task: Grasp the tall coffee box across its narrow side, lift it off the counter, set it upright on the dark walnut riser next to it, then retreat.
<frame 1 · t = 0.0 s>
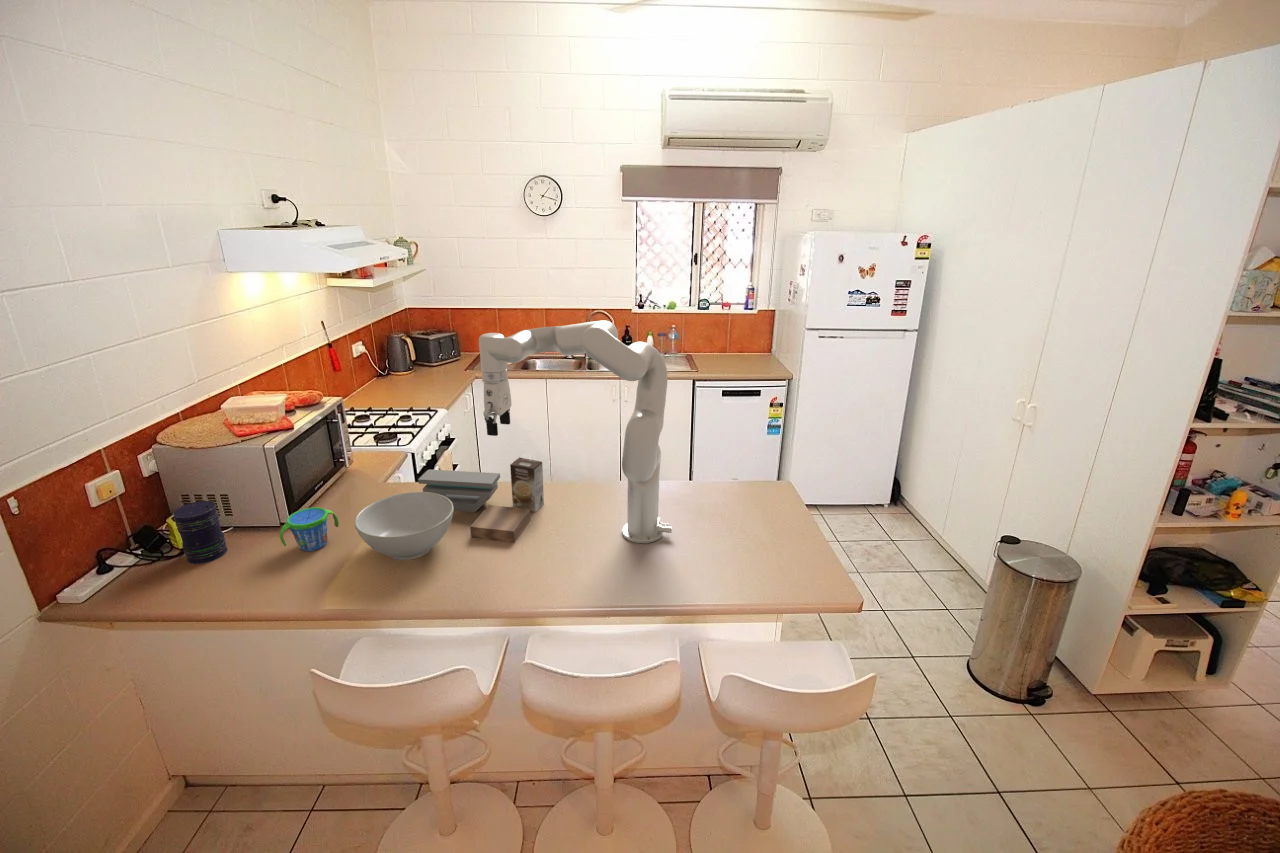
hand: (499, 429, 181), 31 cm above the counter, fingers open, 9 cm apart
coffee box: (528, 506, 201), on the counter
walnut riser: (501, 528, 187), on the counter
snack cup: (313, 546, 176), on the counter
decorative bowl: (410, 549, 175), on the counter
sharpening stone: (462, 505, 201), on the counter
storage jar: (207, 555, 171), on the counter
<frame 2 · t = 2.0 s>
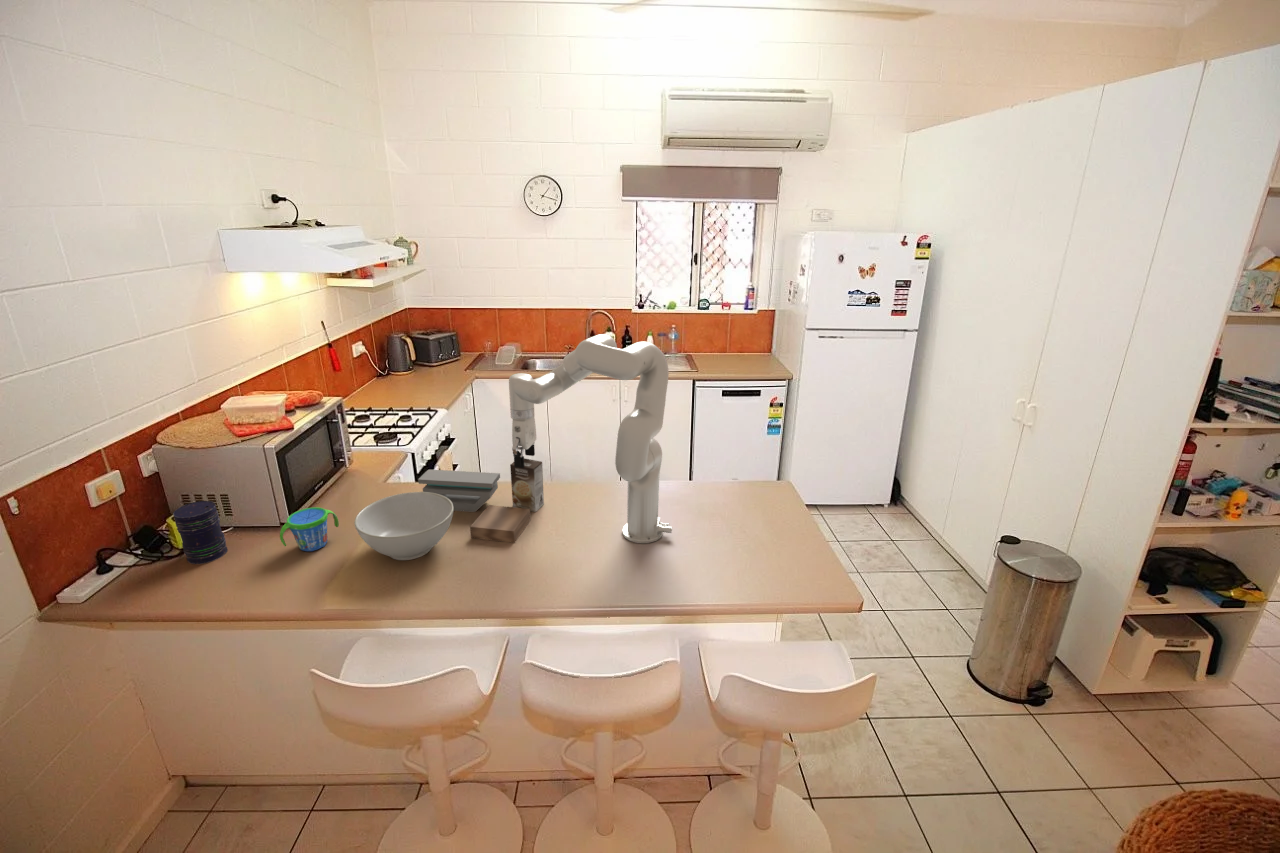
hand: (524, 461, 195), 16 cm above the counter, fingers open, 9 cm apart
nothing on the counter moved.
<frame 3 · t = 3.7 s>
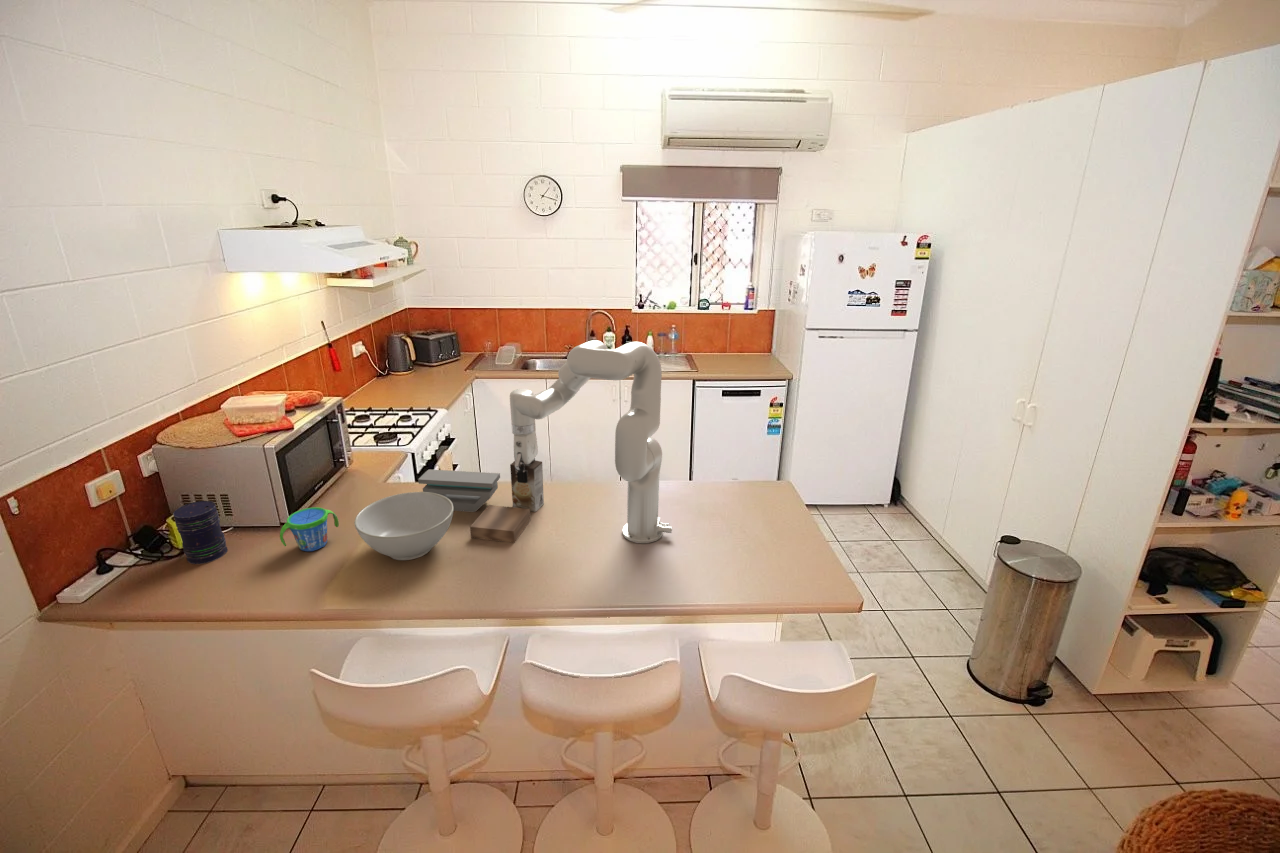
hand: (526, 477, 197), 11 cm above the counter, fingers closed on coffee box, 7 cm apart
coffee box: (528, 506, 201), on the counter, touching gripper
everything else where it was.
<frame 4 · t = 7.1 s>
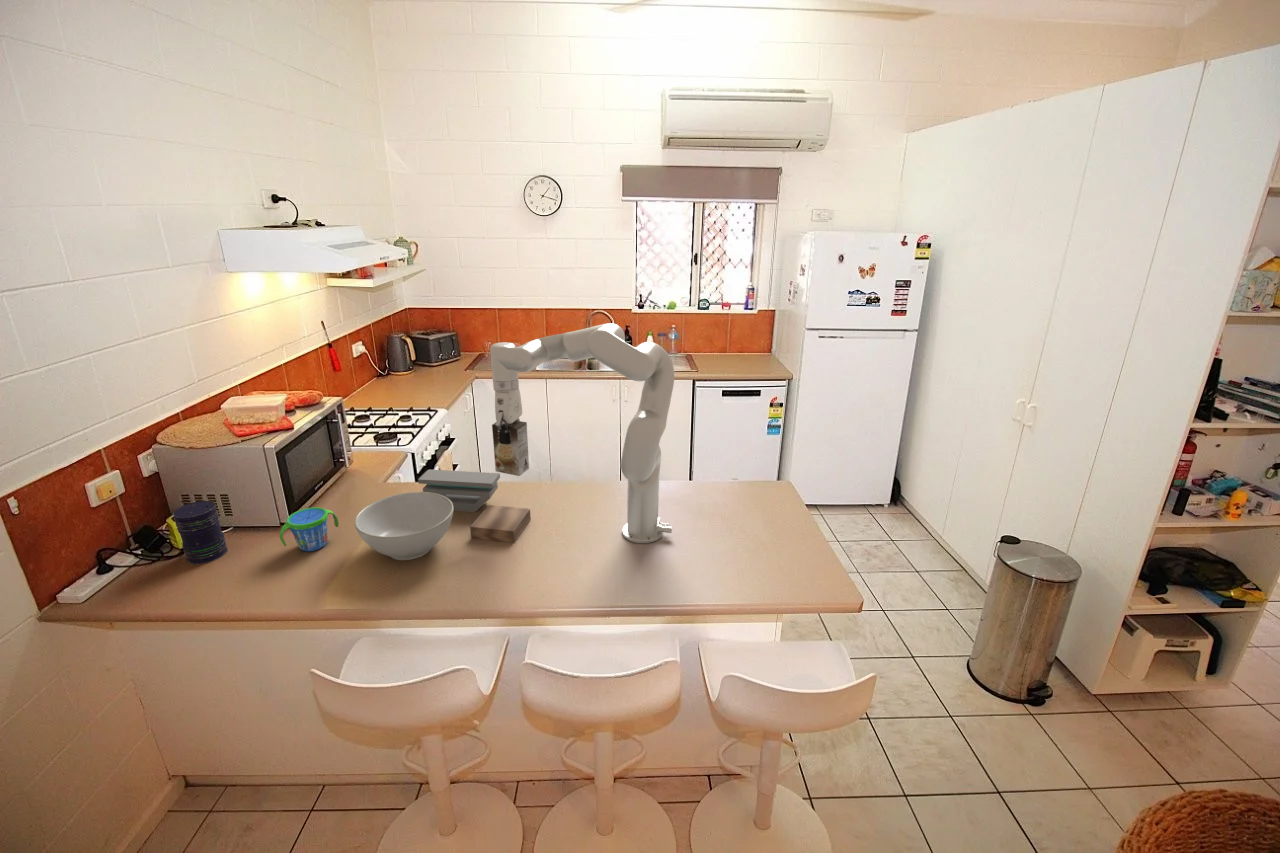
hand: (510, 438, 184), 28 cm above the counter, fingers closed on coffee box, 7 cm apart
coffee box: (512, 470, 188), point 17 cm above the counter, touching gripper
everything else where it was.
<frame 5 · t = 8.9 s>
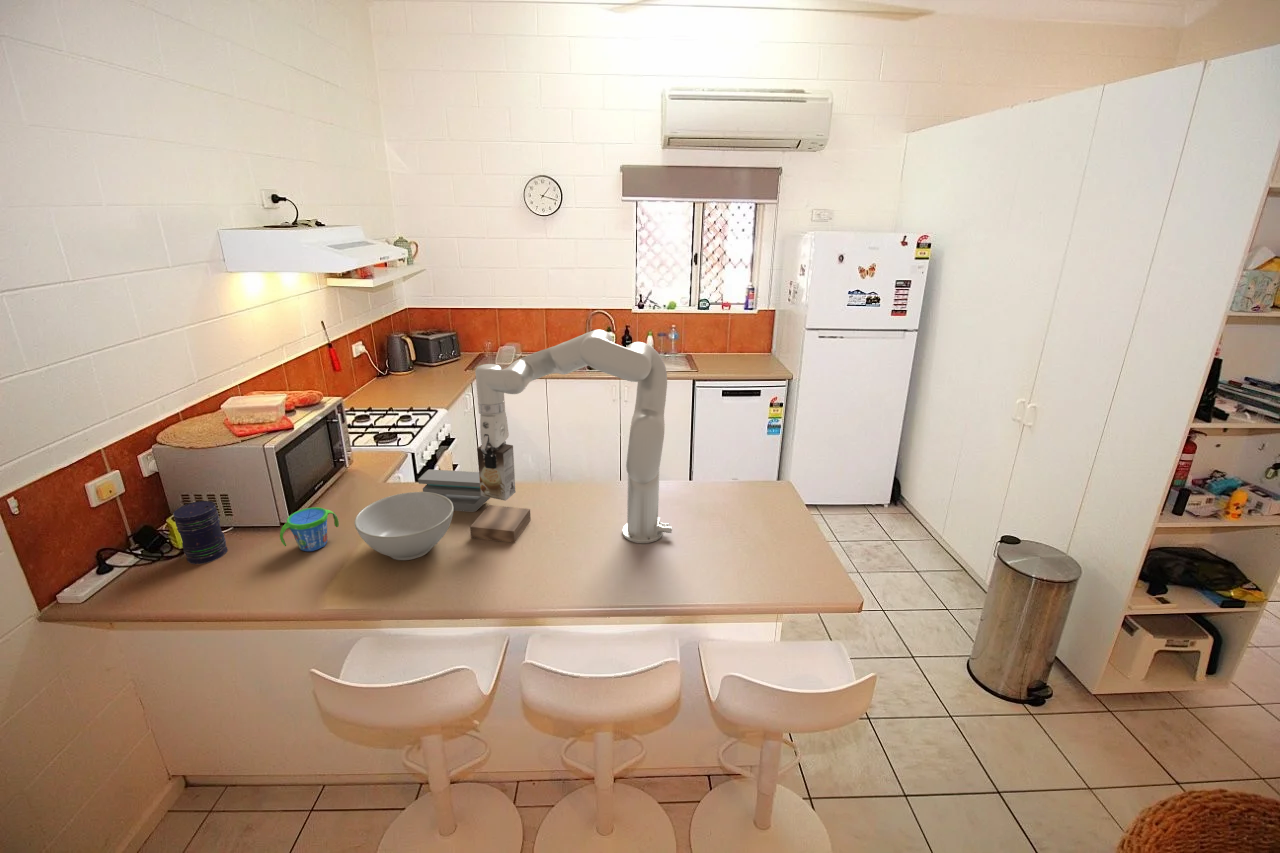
hand: (496, 462, 178), 23 cm above the counter, fingers closed on coffee box, 7 cm apart
coffee box: (498, 494, 182), point 12 cm above the counter, touching gripper
everything else where it was.
when the fingers open (16 cm above the counter, at t = 10.6 s): coffee box drops 1 cm, resting on walnut riser.
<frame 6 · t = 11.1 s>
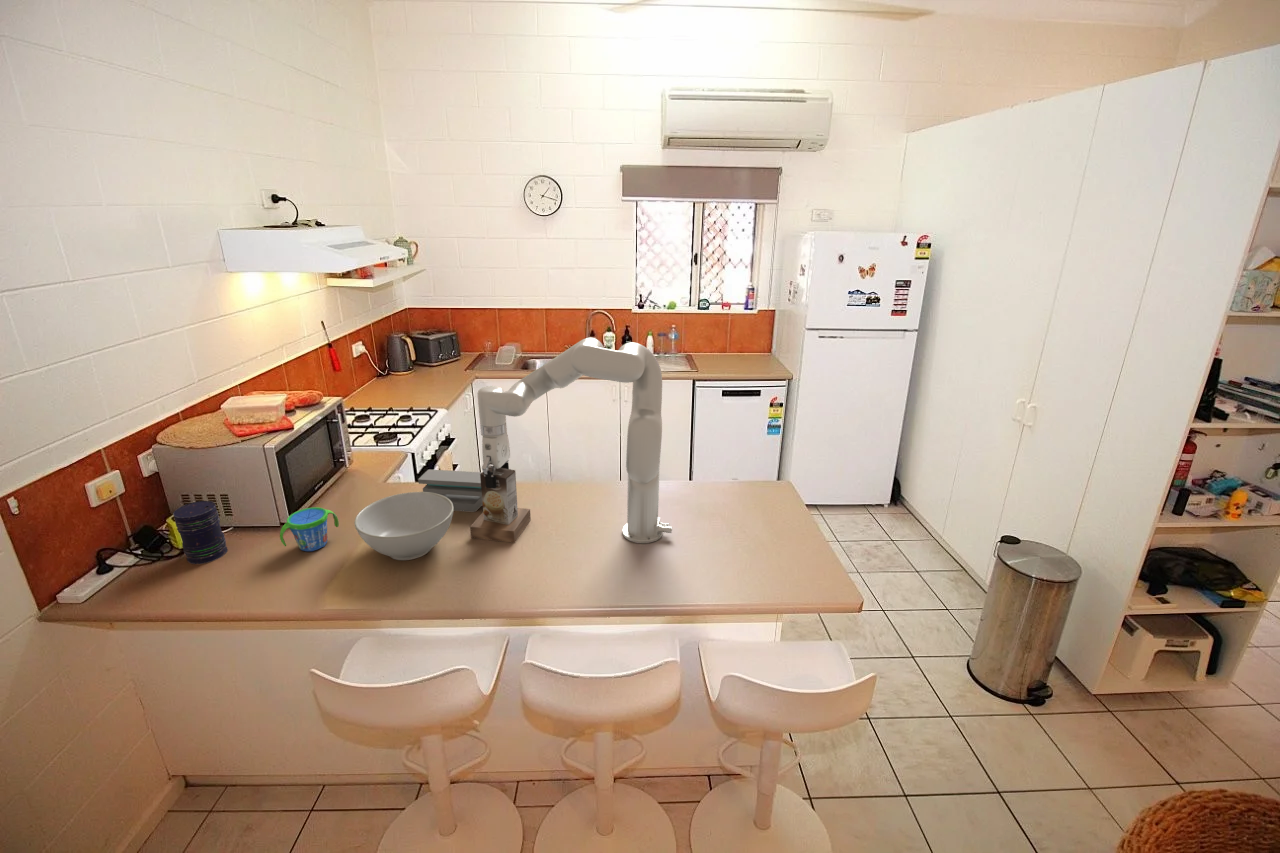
hand: (497, 480, 181), 17 cm above the counter, fingers open, 9 cm apart
coffee box: (501, 518, 185), point 4 cm above the counter, touching walnut riser
everything else where it was.
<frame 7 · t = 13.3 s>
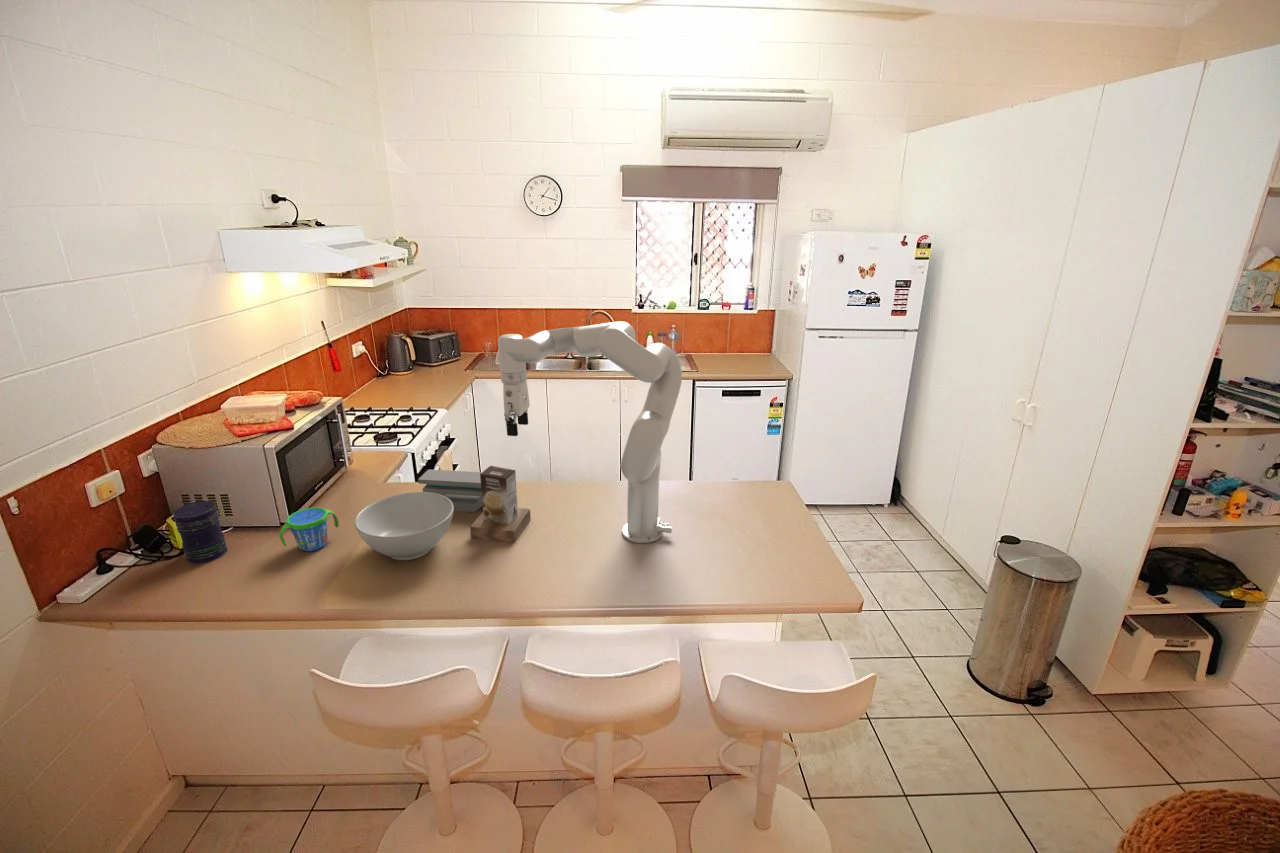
hand: (518, 429, 182), 31 cm above the counter, fingers open, 9 cm apart
nothing on the counter moved.
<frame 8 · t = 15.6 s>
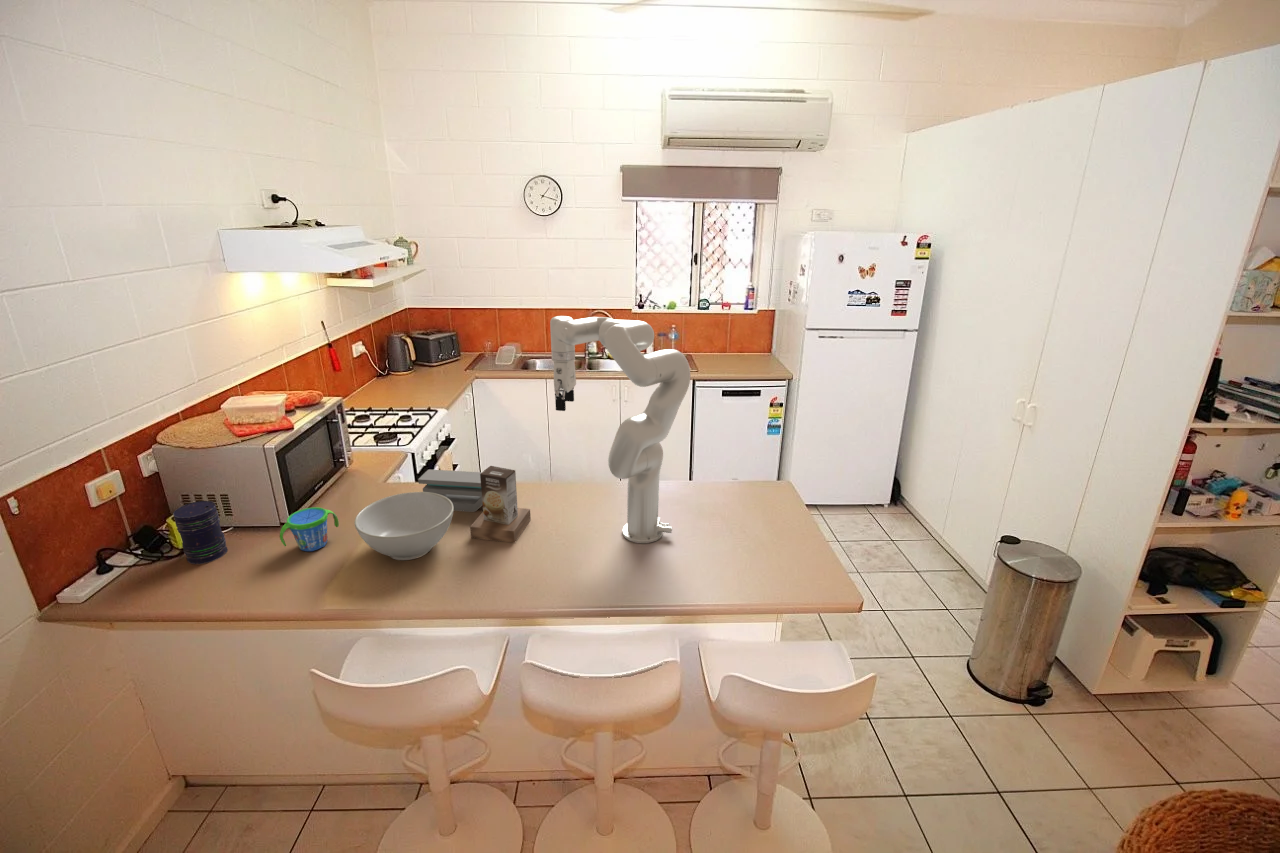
hand: (565, 405, 196), 33 cm above the counter, fingers open, 9 cm apart
nothing on the counter moved.
at the end: coffee box inside the target area on the walnut riser (0.4 cm from its centre), point 3.8 cm above the walnut riser's base; coffee box tilted 0°; the gripper is holding nothing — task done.
